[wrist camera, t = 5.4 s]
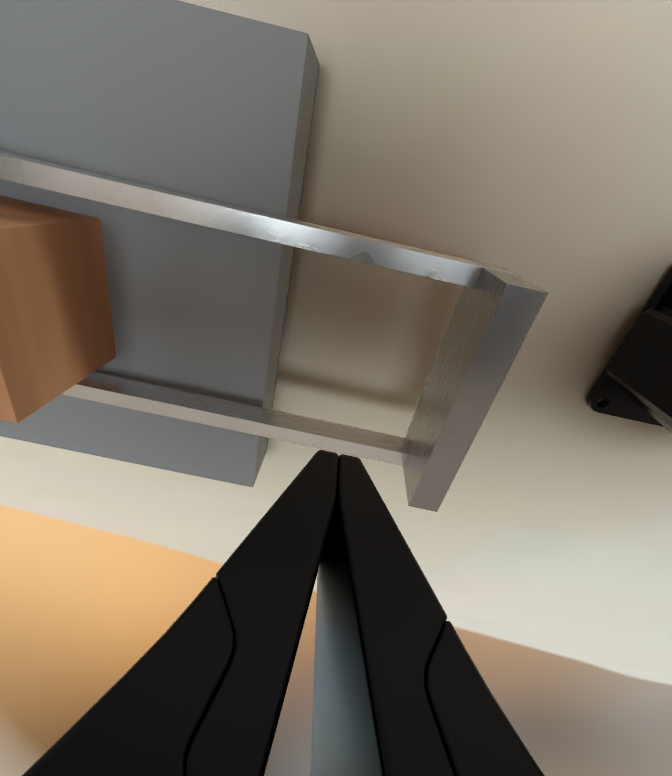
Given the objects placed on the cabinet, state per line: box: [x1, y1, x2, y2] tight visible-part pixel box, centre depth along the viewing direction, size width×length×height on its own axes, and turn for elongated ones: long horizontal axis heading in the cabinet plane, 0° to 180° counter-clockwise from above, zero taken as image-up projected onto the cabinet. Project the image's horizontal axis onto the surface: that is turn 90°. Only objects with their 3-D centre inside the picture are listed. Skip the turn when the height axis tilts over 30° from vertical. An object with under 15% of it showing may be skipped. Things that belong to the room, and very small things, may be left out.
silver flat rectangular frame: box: [0, 151, 548, 512], centre depth 11 cm, size 18×8×3 cm, turn 78°
